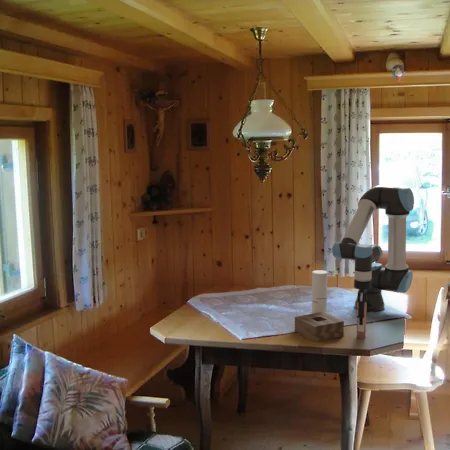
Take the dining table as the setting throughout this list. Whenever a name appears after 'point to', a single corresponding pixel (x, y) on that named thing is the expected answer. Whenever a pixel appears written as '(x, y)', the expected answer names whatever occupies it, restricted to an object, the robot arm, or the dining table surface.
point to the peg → (363, 334)
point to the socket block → (319, 326)
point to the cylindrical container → (319, 291)
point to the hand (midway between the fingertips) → (361, 329)
